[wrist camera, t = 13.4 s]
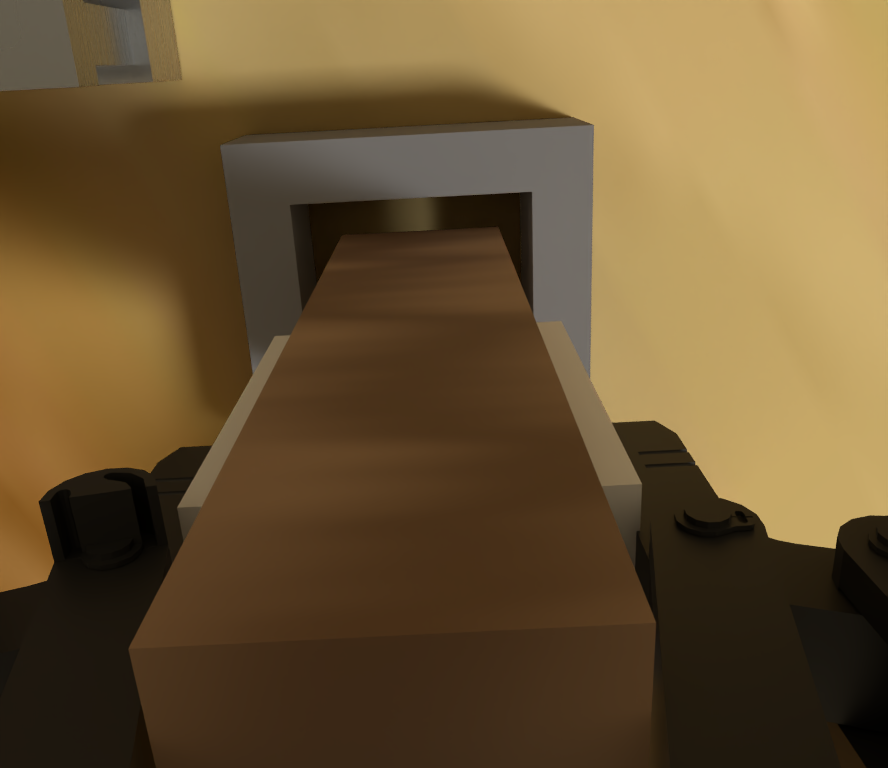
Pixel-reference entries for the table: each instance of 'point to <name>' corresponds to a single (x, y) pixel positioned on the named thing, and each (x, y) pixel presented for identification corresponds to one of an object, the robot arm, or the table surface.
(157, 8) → the gray open frame box
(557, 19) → the table surface
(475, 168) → the gray square frame
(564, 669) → the walnut rod
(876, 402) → the table surface
